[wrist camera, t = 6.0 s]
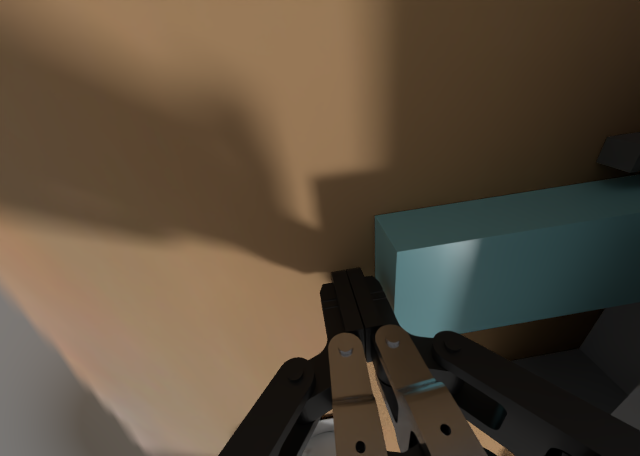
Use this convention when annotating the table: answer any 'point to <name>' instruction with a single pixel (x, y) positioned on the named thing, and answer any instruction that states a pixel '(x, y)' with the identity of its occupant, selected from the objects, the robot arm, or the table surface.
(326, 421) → the teacup
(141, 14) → the table surface
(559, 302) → the teal rectangular slab
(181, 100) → the table surface
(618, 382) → the overhang shelf
